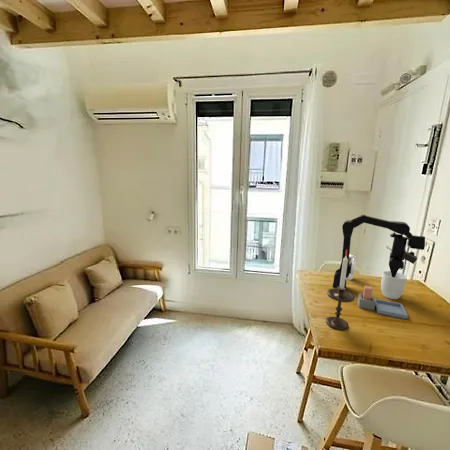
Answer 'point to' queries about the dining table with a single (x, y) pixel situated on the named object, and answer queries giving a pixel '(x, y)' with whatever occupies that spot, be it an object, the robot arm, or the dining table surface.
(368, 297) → the peg
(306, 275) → the dining table surface
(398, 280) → the mug
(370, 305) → the hollow square socket
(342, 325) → the candlestick
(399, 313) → the tray
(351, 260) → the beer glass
